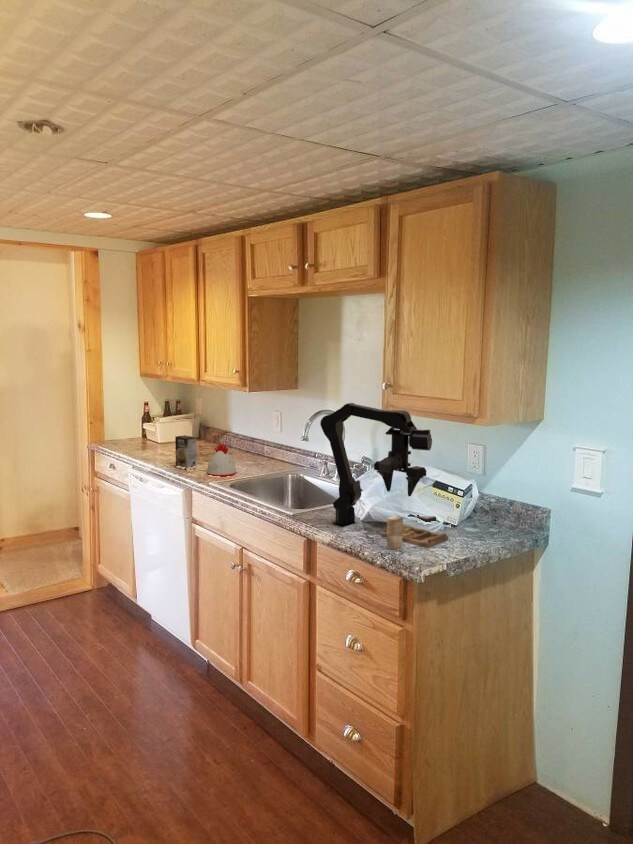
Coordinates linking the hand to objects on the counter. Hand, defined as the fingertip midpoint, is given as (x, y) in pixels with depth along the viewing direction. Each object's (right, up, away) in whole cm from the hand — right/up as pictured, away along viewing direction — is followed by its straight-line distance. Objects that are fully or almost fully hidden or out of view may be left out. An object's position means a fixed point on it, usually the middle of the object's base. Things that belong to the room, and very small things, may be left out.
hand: (398, 493), depth 220 cm
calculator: (+10, -12, +14) cm, 21 cm away
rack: (+4, -14, -9) cm, 18 cm away
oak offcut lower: (0, -13, -7) cm, 14 cm away
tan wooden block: (-4, -16, -19) cm, 25 cm away
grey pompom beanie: (-73, -1, +92) cm, 117 cm away
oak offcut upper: (0, -12, -7) cm, 13 cm away
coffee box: (-93, +1, +107) cm, 142 cm away
